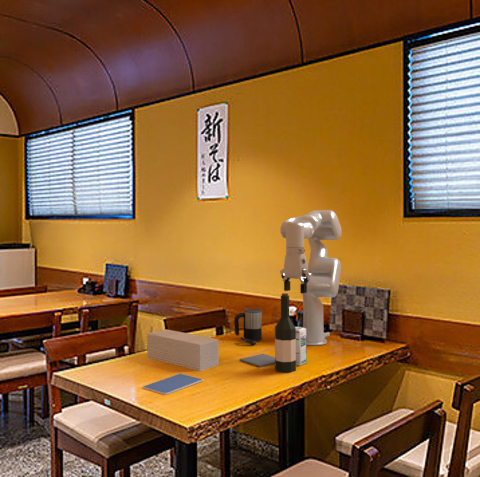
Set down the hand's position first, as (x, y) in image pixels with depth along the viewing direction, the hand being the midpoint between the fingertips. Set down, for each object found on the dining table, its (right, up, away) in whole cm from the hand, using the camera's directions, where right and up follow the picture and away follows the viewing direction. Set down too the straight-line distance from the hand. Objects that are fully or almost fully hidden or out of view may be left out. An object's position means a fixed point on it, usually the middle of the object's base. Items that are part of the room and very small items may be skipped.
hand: (295, 291), depth 219 cm
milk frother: (-18, -28, +31) cm, 45 cm away
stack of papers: (-48, -29, -2) cm, 56 cm away
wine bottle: (-6, -29, -15) cm, 33 cm away
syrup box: (0, -29, -7) cm, 30 cm away
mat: (-14, -29, -3) cm, 32 cm away
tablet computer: (-47, -31, -32) cm, 65 cm away
